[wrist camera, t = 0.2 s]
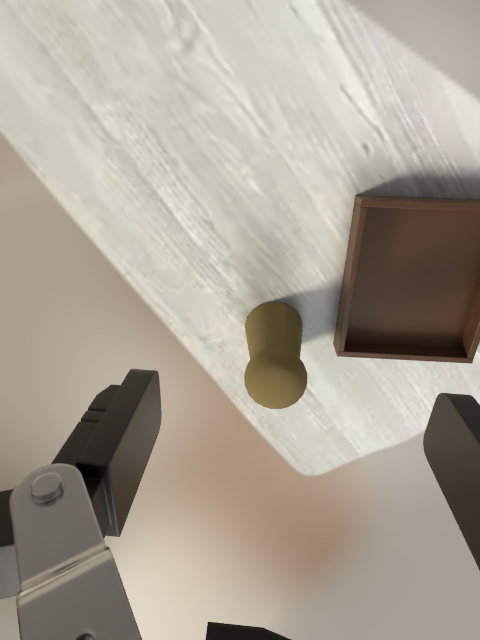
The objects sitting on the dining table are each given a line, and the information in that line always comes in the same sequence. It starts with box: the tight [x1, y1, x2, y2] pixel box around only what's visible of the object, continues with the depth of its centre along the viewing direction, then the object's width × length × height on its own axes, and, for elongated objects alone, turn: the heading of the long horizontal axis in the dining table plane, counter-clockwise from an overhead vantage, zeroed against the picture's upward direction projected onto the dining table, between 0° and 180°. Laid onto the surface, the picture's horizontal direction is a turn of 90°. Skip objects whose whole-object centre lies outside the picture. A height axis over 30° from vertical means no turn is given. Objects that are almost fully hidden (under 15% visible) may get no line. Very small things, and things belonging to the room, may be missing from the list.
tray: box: [334, 195, 480, 363], centre depth 36 cm, size 15×13×2 cm
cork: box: [244, 302, 307, 409], centre depth 35 cm, size 6×6×11 cm
